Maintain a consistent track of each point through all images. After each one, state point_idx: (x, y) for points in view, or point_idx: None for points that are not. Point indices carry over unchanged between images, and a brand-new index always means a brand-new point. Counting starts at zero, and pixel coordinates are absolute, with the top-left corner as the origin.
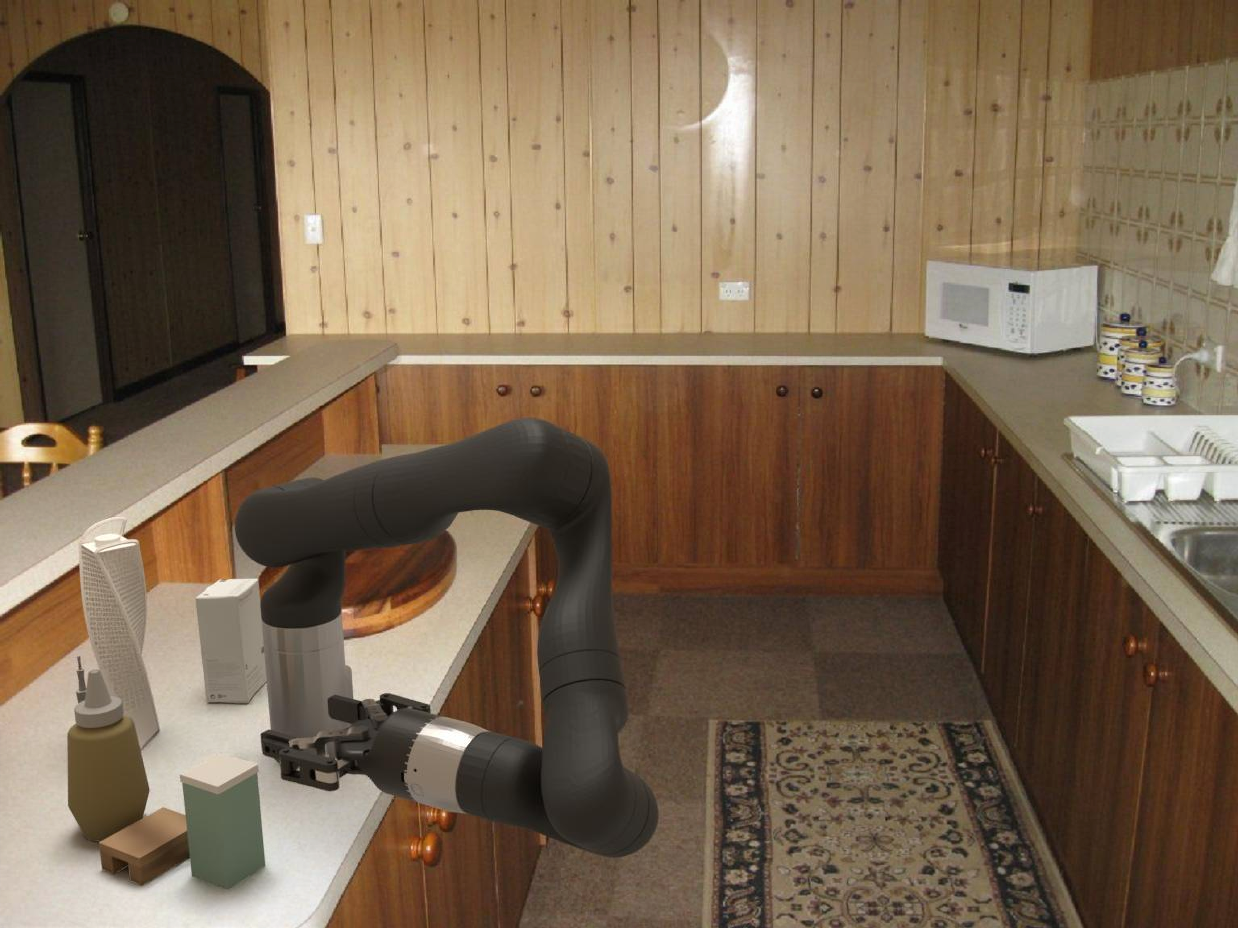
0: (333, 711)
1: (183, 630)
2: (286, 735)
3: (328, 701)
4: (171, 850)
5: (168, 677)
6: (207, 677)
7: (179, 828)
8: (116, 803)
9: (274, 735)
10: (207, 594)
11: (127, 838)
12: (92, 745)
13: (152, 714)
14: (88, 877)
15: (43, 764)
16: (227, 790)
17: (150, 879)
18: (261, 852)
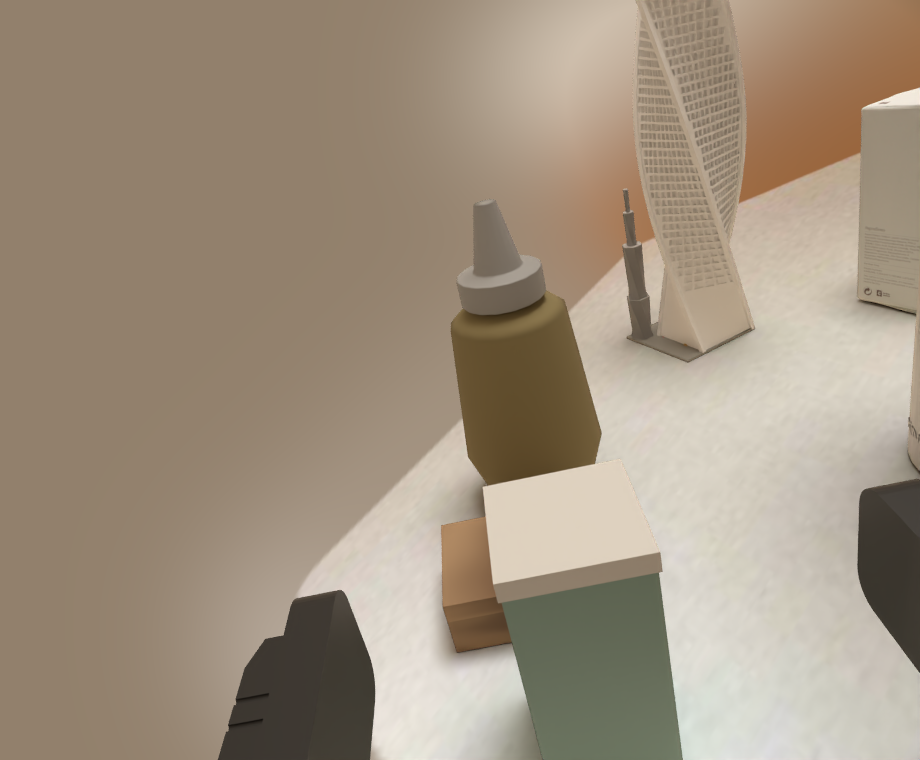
0: (882, 580)
1: None
2: (295, 735)
3: (863, 508)
4: None
5: (831, 249)
6: (863, 257)
7: None
8: (507, 461)
9: (275, 676)
10: (887, 102)
11: (478, 541)
12: (464, 346)
13: (738, 302)
14: (425, 574)
15: (579, 339)
16: (536, 598)
17: (476, 647)
18: (671, 751)
